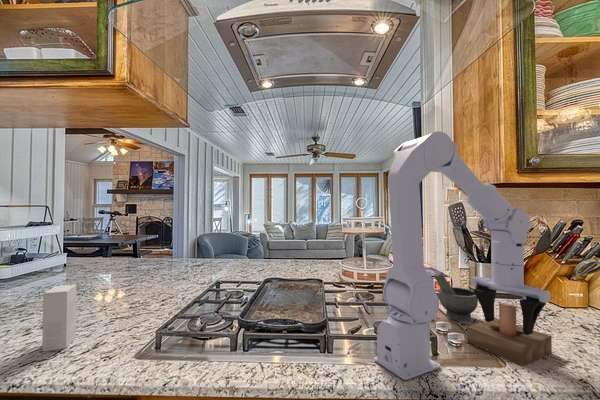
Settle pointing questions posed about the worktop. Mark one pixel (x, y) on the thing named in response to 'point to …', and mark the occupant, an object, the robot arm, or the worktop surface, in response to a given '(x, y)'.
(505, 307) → the peg
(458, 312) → the mortar and pestle
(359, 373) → the worktop surface
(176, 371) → the worktop surface
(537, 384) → the worktop surface
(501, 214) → the robot arm
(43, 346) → the skincare box
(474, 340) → the walnut stand
